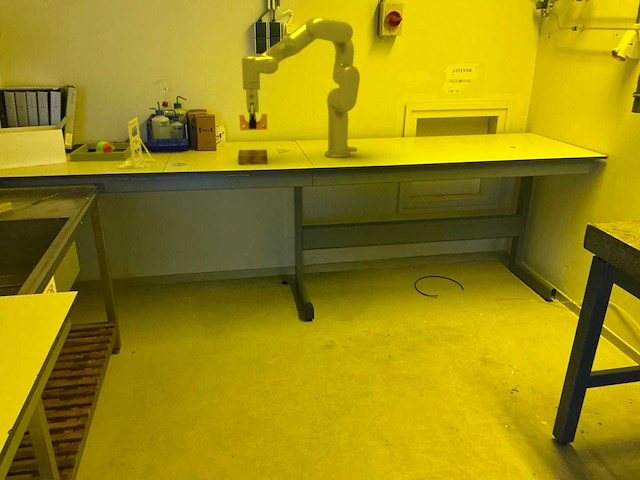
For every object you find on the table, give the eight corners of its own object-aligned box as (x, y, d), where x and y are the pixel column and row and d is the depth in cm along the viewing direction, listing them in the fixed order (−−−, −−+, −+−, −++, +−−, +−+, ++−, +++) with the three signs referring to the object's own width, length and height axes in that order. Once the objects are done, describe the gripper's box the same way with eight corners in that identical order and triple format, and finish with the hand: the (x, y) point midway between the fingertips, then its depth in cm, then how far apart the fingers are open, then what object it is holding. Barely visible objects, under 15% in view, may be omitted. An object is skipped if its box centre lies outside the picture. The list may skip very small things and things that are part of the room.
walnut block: (267, 157, 246) (266, 149, 245) (267, 164, 234) (267, 155, 233) (239, 158, 245) (239, 149, 243) (238, 164, 233) (238, 155, 231)
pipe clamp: (266, 127, 237) (265, 113, 235) (267, 129, 233) (266, 114, 231) (239, 128, 235) (239, 114, 232) (240, 130, 231) (239, 115, 228)
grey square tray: (136, 149, 261) (135, 142, 260) (125, 160, 239) (124, 152, 237) (87, 150, 258) (86, 143, 257) (71, 161, 236) (69, 153, 235)
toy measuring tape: (119, 153, 253) (117, 140, 250) (86, 161, 237) (83, 147, 234) (110, 152, 256) (108, 138, 253) (76, 159, 240) (74, 145, 237)
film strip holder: (125, 161, 237) (119, 117, 230) (155, 161, 238) (150, 117, 231) (115, 168, 224) (109, 122, 217) (148, 168, 225) (142, 122, 218)
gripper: (260, 87, 220) (261, 130, 226) (259, 84, 235) (261, 124, 242) (242, 87, 219) (244, 130, 225) (243, 84, 234) (245, 124, 241)
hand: (252, 127), depth 234 cm, fingers closed on pipe clamp, 4 cm apart
